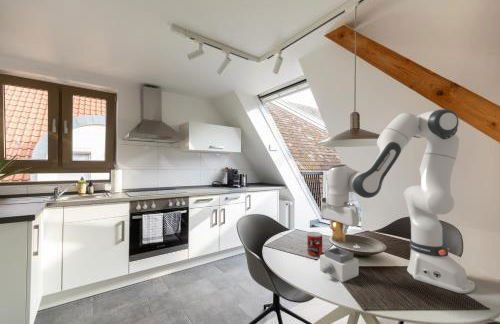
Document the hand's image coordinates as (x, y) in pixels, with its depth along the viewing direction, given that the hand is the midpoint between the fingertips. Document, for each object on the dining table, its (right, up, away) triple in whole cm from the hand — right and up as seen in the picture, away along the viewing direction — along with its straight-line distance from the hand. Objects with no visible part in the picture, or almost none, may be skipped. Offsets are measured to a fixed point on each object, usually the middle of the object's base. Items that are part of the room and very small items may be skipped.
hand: (338, 231), depth 104 cm
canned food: (-5, -19, +22) cm, 29 cm away
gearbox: (-2, -19, -1) cm, 19 cm away
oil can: (-1, -4, 0) cm, 4 cm away
